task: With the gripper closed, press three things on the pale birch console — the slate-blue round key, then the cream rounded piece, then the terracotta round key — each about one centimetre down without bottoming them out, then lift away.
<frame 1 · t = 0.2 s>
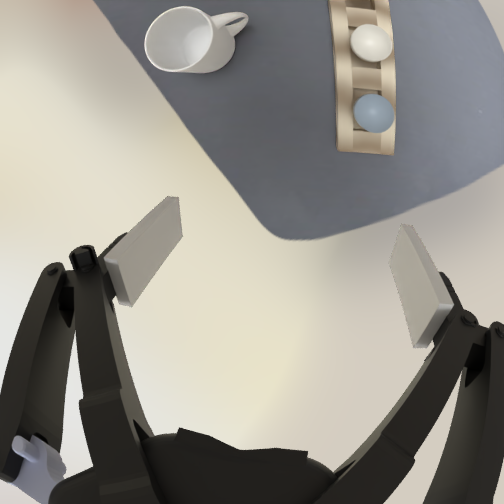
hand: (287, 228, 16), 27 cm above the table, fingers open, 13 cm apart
mug: (218, 42, 31), on the table
console: (361, 49, 28), on the table
slate key: (371, 112, 29), point 5 cm above the table, slide at 0.0 cm
cream rounded piece: (368, 44, 24), point 5 cm above the table, slide at 0.0 cm
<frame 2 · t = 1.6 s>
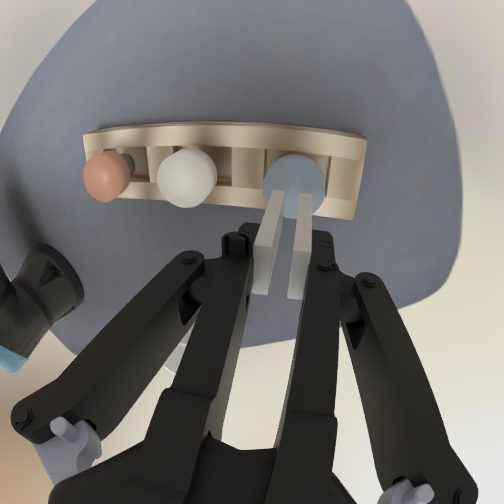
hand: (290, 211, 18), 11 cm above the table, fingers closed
mug: (205, 295, 40), on the table
console: (211, 157, 28), on the table
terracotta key: (113, 172, 25), point 5 cm above the table, slide at 0.0 cm
slate key: (295, 181, 23), point 5 cm above the table, slide at 0.0 cm
cream rounded piece: (192, 173, 24), point 5 cm above the table, slide at 0.0 cm
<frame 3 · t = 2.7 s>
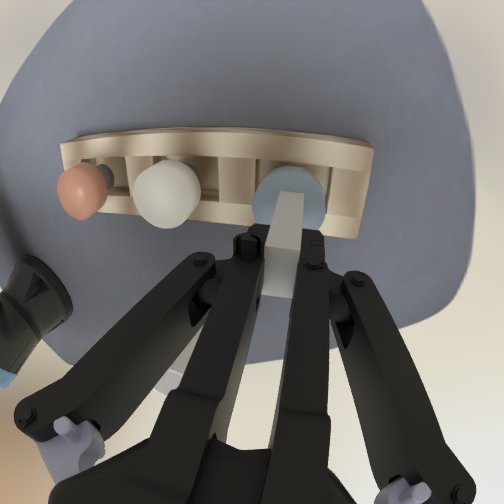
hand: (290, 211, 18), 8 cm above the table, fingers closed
mug: (195, 313, 37), on the table
console: (197, 168, 25), on the table
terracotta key: (89, 185, 22), point 5 cm above the table, slide at 0.0 cm
slate key: (290, 197, 20), point 5 cm above the table, slide at 0.1 cm, touching gripper
cream rounded piece: (173, 187, 21), point 5 cm above the table, slide at 0.0 cm
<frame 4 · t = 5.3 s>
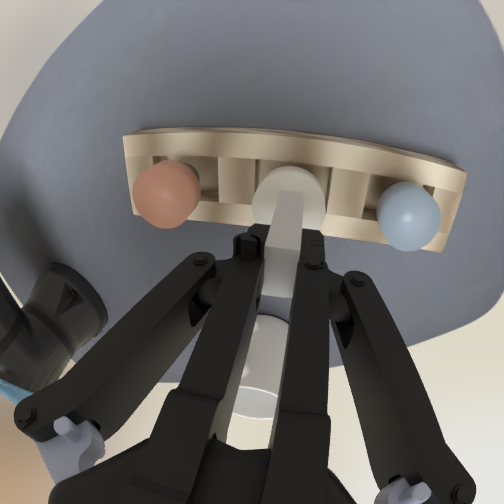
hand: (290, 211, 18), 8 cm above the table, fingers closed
mug: (261, 325, 36), on the table
console: (293, 175, 24), on the table
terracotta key: (173, 188, 21), point 5 cm above the table, slide at 0.0 cm
slate key: (403, 209, 19), point 4 cm above the table, slide at 1.0 cm
cream rounded piece: (290, 197, 20), point 5 cm above the table, slide at 0.1 cm, touching gripper
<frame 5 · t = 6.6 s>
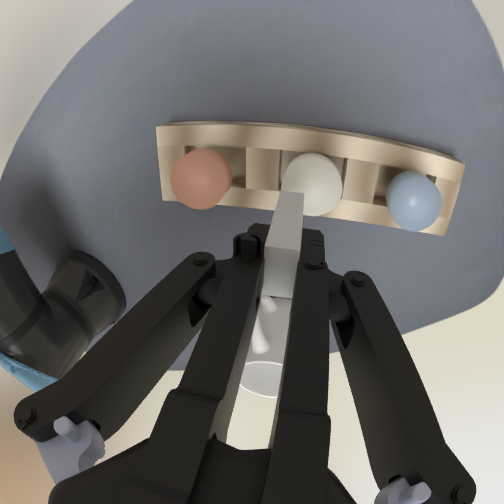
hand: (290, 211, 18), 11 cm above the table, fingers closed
mug: (278, 308, 38), on the table
console: (312, 165, 26), on the table
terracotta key: (206, 173, 23), point 5 cm above the table, slide at 0.0 cm
slate key: (409, 195, 21), point 4 cm above the table, slide at 1.0 cm
cream rounded piece: (312, 179, 23), point 4 cm above the table, slide at 1.0 cm
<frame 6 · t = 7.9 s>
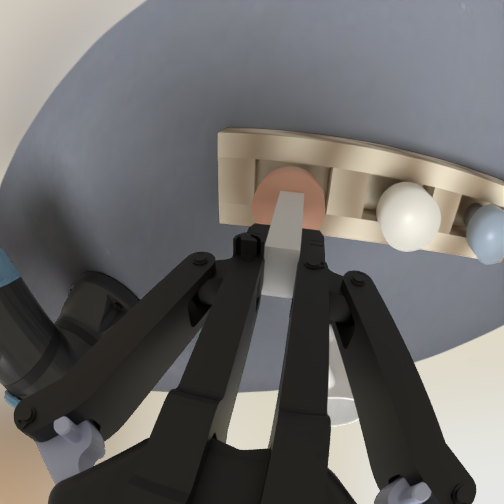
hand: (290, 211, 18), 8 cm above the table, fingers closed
mug: (329, 333, 34), on the table
console: (390, 189, 23), on the table
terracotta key: (290, 197, 20), point 5 cm above the table, slide at 0.1 cm, touching gripper
slate key: (485, 227, 18), point 4 cm above the table, slide at 1.0 cm
cream rounded piece: (403, 209, 19), point 4 cm above the table, slide at 1.0 cm
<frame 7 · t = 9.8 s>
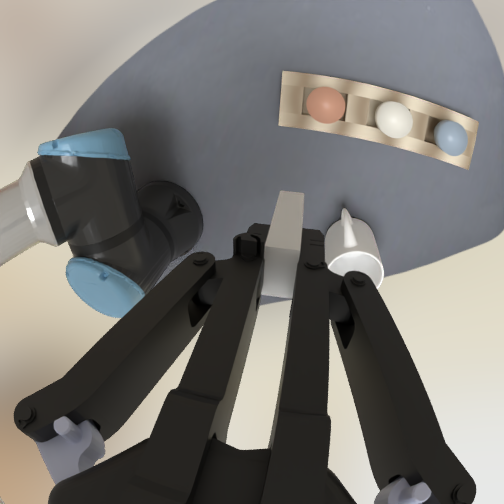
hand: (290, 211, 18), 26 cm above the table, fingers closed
mug: (347, 229, 45), on the table
console: (383, 115, 34), on the table
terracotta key: (325, 104, 31), point 4 cm above the table, slide at 1.0 cm
slate key: (447, 135, 29), point 4 cm above the table, slide at 1.0 cm
cream rounded piece: (391, 118, 30), point 4 cm above the table, slide at 1.0 cm
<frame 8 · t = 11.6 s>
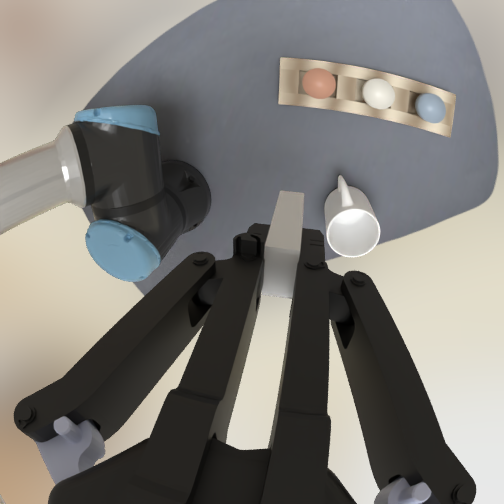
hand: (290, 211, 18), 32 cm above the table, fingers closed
mug: (344, 197, 49), on the table
console: (370, 93, 38), on the table
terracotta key: (318, 83, 35), point 4 cm above the table, slide at 1.0 cm
slate key: (427, 107, 33), point 4 cm above the table, slide at 1.0 cm
cream rounded piece: (376, 93, 34), point 4 cm above the table, slide at 1.0 cm
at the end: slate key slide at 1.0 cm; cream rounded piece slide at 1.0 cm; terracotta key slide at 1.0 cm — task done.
